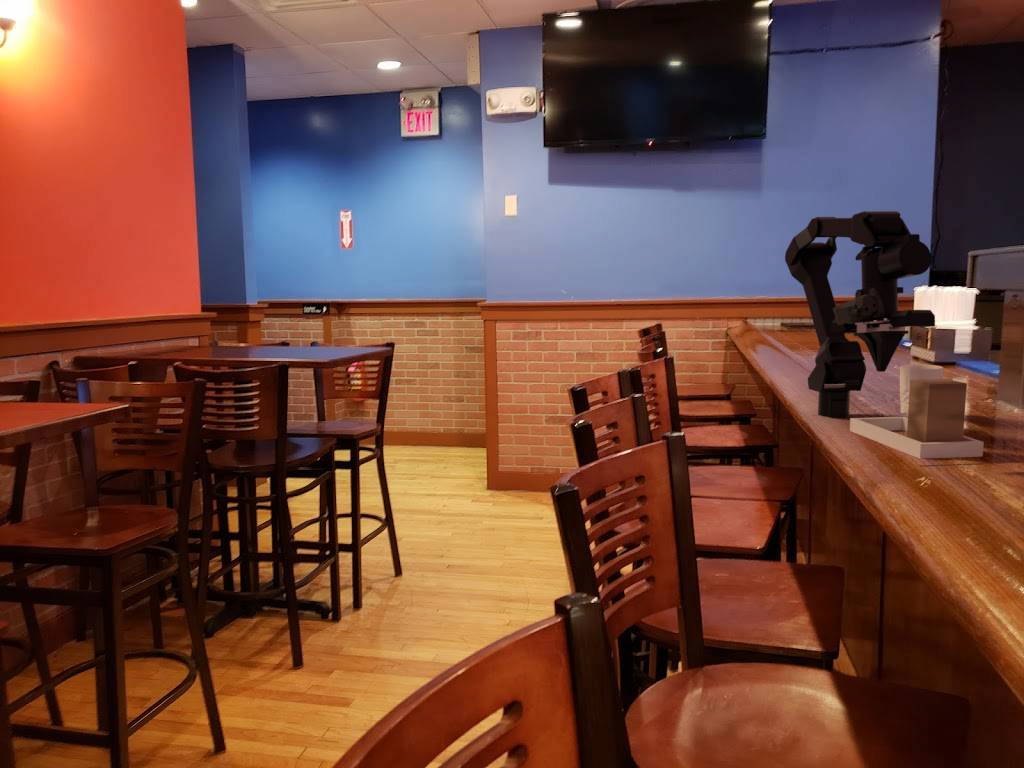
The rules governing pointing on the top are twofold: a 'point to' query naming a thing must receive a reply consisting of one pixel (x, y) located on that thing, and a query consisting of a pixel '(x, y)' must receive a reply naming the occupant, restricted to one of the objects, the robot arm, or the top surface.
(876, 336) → the robot arm
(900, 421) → the box
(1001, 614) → the top surface
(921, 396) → the walnut block
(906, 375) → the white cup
